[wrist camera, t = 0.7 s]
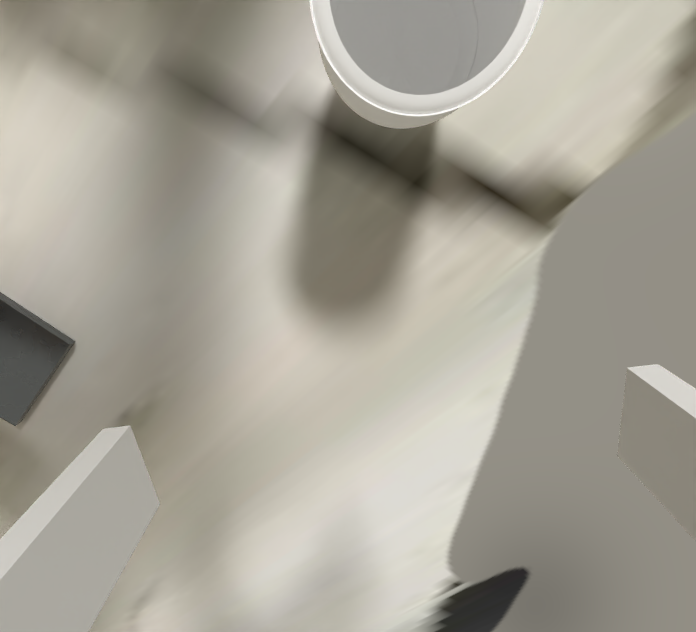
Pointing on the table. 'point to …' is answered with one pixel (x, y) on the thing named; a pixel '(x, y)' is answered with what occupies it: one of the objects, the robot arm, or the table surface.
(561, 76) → the table surface
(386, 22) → the jar
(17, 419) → the fulcrum
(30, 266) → the table surface
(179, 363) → the table surface
